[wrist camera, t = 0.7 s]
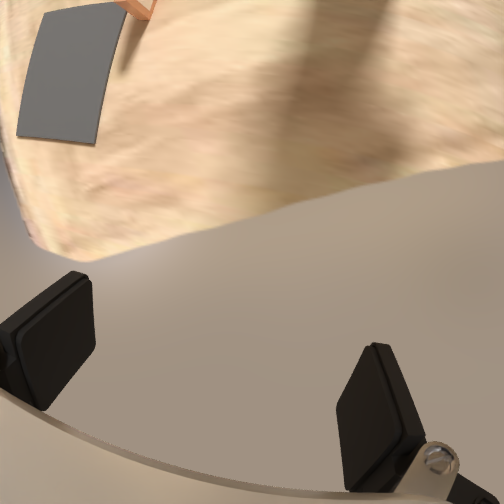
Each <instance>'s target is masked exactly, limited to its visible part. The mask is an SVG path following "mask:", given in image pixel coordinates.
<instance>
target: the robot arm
mask: <svg viewBox="0 0 504 504" xmlns="http://www.w3.org/2000/svg"><path fill="white" fill-rule="evenodd" d="M95 345H96V341H95V328H94V315H93V295H92V282H91V281H90V280H89V278H88V276H87V275H86V274H83V273H80V272H76V271H71V272H69V273H68V274H66V275H65V276H63V277H62V278H61V279H59V280H58V281H57V282H55V283H54V284H52V285H51V286H50V287H48V288H47V289H45V290H44V291H43V292H42V293H40V294H39V295H37V296H36V297H35V298H34V299H32V300H31V301H29V302H28V303H27V304H25V305H24V306H23V307H22V308H20V309H19V310H18V311H16V312H15V313H14V314H13V315H11V316H10V317H9V318H7V319H6V320H5V321H4V322H2V323H1V324H0V504H500V503H499V501H498V500H497V498H496V497H495V496H493V495H492V494H490V493H489V492H487V491H486V490H484V489H482V488H481V487H479V486H477V485H476V484H474V483H473V482H471V481H470V480H468V479H466V478H465V477H463V476H462V475H460V474H459V473H458V471H459V466H460V464H459V458H458V457H457V454H456V453H455V452H454V450H453V449H452V448H451V447H449V446H448V445H446V444H444V443H442V442H437V441H433V442H428V443H427V441H426V439H425V432H424V429H423V426H422V423H421V421H420V418H419V415H418V413H417V410H416V407H415V405H414V402H413V400H412V397H411V395H410V392H409V389H408V387H407V384H406V382H405V380H404V377H403V375H402V372H401V370H400V368H399V365H398V363H397V360H396V358H395V356H394V353H393V351H392V349H391V347H390V345H388V344H382V343H376V342H374V343H372V344H371V345H370V346H366V347H365V348H364V350H363V353H362V355H361V357H360V359H359V361H358V363H357V365H356V367H355V369H354V371H353V373H352V376H351V377H350V379H349V381H348V383H347V385H346V387H345V389H344V391H343V393H342V395H341V397H340V398H339V400H338V402H337V406H336V414H337V422H338V430H339V438H340V447H341V456H342V464H343V474H344V485H345V489H346V490H349V492H327V491H313V490H300V489H290V488H281V487H273V486H266V485H259V484H253V483H247V482H241V481H236V480H230V479H225V478H220V477H216V476H212V475H207V474H203V473H199V472H195V471H191V470H187V469H184V468H180V467H177V466H173V465H170V464H166V463H163V462H160V461H157V460H153V459H150V458H147V457H144V456H141V455H139V454H136V453H133V452H130V451H128V450H125V449H122V448H120V447H117V446H114V445H112V444H109V443H107V442H104V441H102V440H100V439H97V438H95V437H93V436H90V435H88V434H86V433H84V432H81V431H79V430H77V429H75V428H73V427H71V426H68V425H67V424H64V423H62V422H61V421H59V420H56V419H55V418H53V417H51V416H49V415H47V414H45V413H43V412H41V411H46V410H47V409H48V408H49V406H50V405H51V403H53V401H54V400H55V399H56V397H57V396H58V394H59V393H60V392H61V391H62V390H63V388H64V387H65V386H66V384H67V383H68V382H69V381H70V379H71V378H72V377H73V376H74V374H75V373H76V372H77V371H78V369H79V368H80V367H81V366H82V365H83V363H84V362H85V361H86V359H87V358H88V357H89V356H90V355H91V353H92V352H93V351H94V349H95Z"/></svg>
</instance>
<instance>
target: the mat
mask: <svg viewBox="0 0 504 504" xmlns="http://www.w3.org/2000/svg"><path fill="white" fill-rule="evenodd" d="M126 14H127V11H126V10H124V9H123V8H122V7H120V6H119V5H117V4H116V3H114V2H107V3H99V4H91V5H84V6H78V7H72V8H66V9H61V10H56V11H51V12H47V13H44V16H43V19H42V22H41V25H40V28H39V31H38V34H37V37H36V41H35V44H34V48H33V51H32V55H31V59H30V63H29V67H28V71H27V75H26V80H25V84H24V89H23V94H22V100H21V105H20V111H19V118H18V125H17V132H16V136H28V137H39V138H49V139H59V140H68V141H76V142H84V143H92V144H95V143H96V137H97V131H98V125H99V119H100V114H101V109H102V104H103V99H104V94H105V90H106V85H107V81H108V77H109V73H110V69H111V65H112V61H113V57H114V53H115V50H116V46H117V43H118V39H119V36H120V33H121V30H122V26H123V23H124V20H125V17H126Z"/></svg>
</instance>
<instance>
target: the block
mask: <svg viewBox="0 0 504 504" xmlns="http://www.w3.org/2000/svg"><path fill="white" fill-rule="evenodd" d="M156 1H157V0H114V3H116V4H117V5H119V6H120V7H122V8H123V9H124V10H126V11H127V12H129V13H130V14H131V15H133V16H134V17H135V18H137V19H138V20H150V19H151V16H152V13H153V10H154V7H155V4H156Z"/></svg>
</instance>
